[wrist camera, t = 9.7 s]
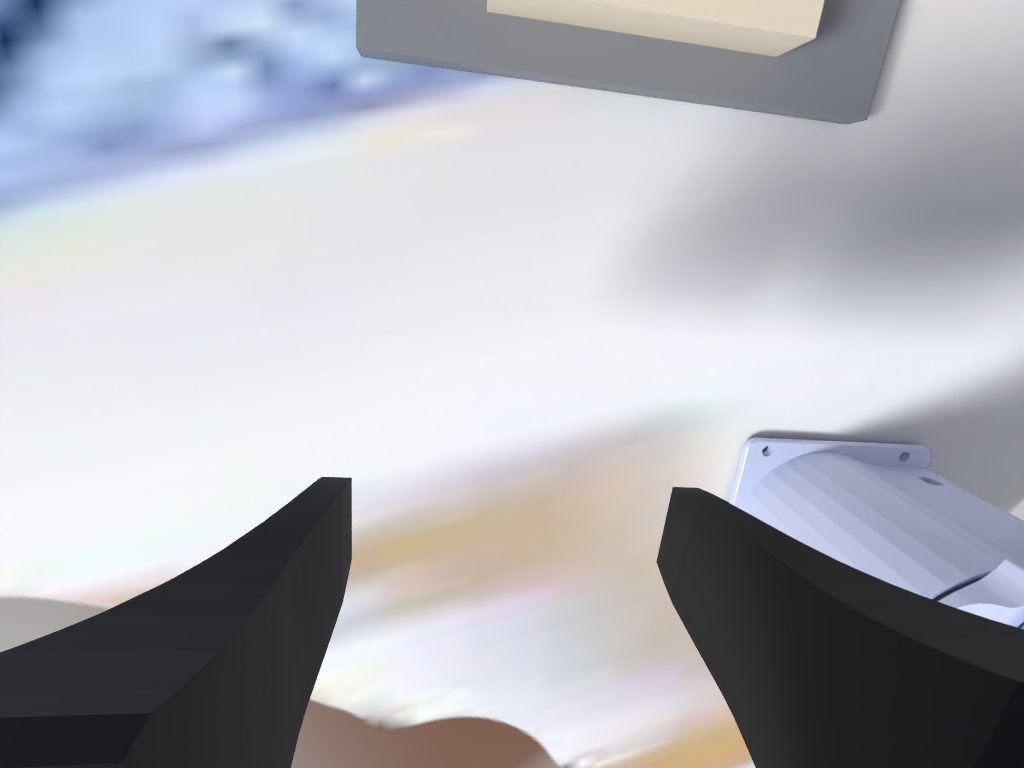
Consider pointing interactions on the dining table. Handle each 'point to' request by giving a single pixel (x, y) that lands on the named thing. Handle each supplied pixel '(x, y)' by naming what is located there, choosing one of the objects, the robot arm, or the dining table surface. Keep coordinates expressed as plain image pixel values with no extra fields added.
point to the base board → (654, 47)
